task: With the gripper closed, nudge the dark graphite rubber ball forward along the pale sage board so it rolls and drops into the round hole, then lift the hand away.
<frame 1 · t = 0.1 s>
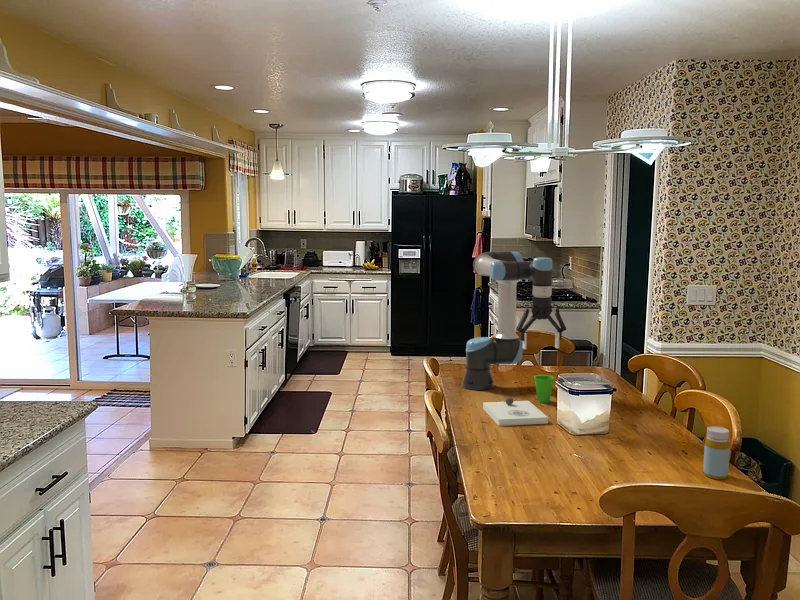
hand: (540, 348, 263), 28 cm above the table, fingers open, 13 cm apart
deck: (514, 415, 267), on the table
cup: (543, 402, 287), on the table
ball: (509, 401, 273), point 4 cm above the table, touching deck
bottle: (715, 476, 203), on the table
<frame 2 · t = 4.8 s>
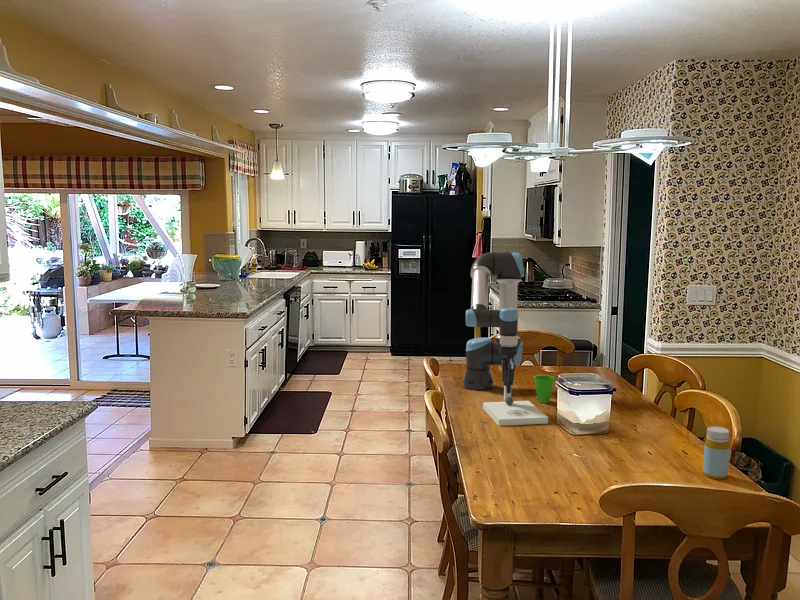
hand: (507, 399, 275), 4 cm above the table, fingers closed
ball: (509, 401, 273), point 4 cm above the table, touching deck, gripper
everything else where it was.
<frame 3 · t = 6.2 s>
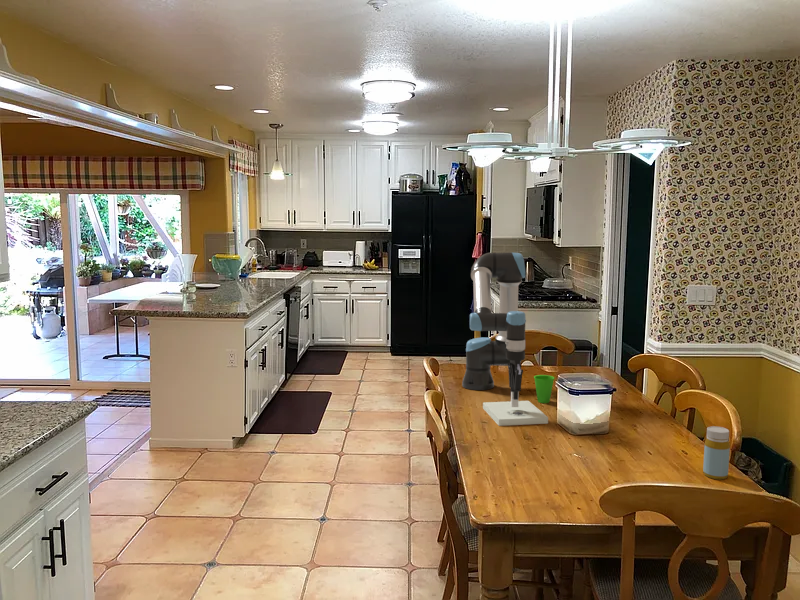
hand: (514, 406, 266), 4 cm above the table, fingers closed
ball: (518, 415, 261), point 2 cm above the table, tilted 128°
everything else where it was.
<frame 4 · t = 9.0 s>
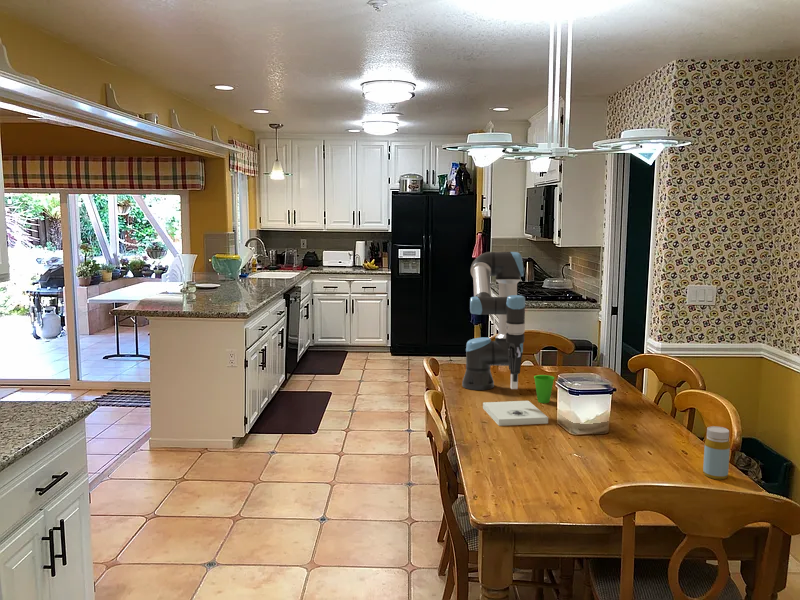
hand: (514, 388, 272), 10 cm above the table, fingers closed
ball: (517, 414, 262), point 2 cm above the table, tilted 87°
everything else where it was.
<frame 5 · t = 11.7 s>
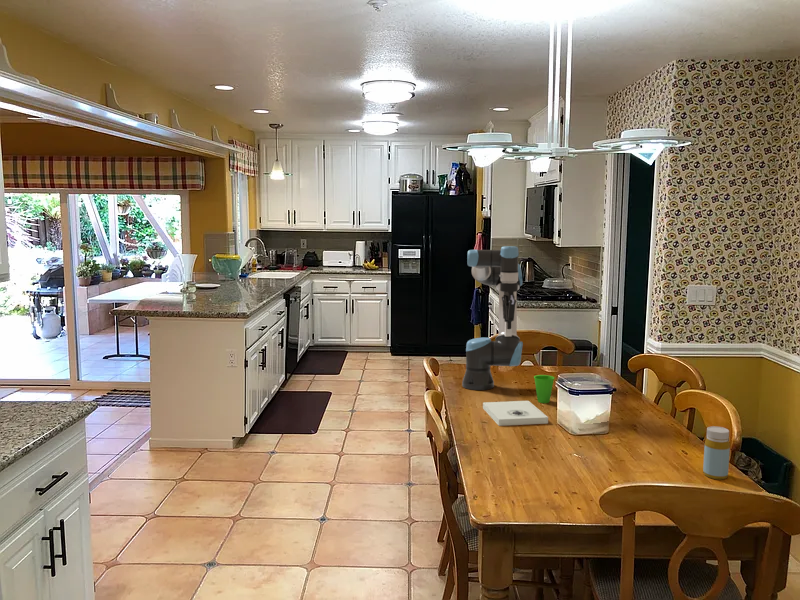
hand: (508, 336, 283), 29 cm above the table, fingers closed
nothing on the table moved.
at the end: ball 0.5 cm from the target spot in the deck, point 1.6 cm above the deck's base; ball touching table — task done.
